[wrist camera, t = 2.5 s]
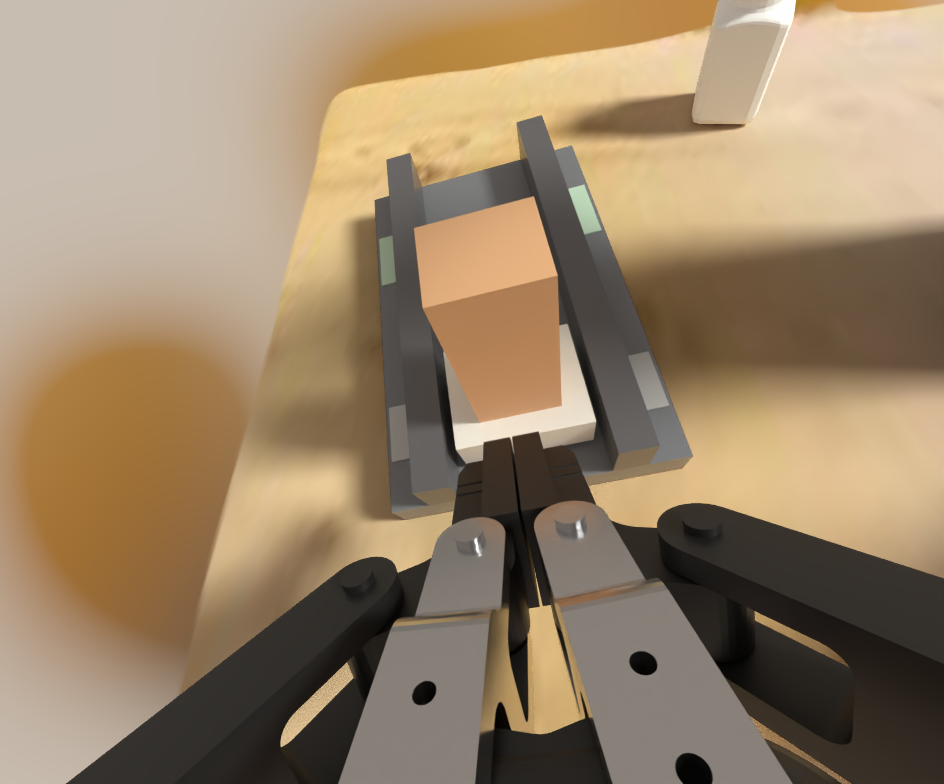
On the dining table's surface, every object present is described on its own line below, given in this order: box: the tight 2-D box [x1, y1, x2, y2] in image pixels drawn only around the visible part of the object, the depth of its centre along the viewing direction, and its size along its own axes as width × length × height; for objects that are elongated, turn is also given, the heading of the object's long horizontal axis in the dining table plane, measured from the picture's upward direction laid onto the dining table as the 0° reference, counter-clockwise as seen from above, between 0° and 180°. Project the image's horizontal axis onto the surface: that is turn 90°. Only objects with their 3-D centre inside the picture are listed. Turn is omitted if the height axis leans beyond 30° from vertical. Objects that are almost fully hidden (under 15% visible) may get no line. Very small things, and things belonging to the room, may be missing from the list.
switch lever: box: [414, 196, 596, 464], centre depth 17 cm, size 5×6×11 cm
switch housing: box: [375, 115, 693, 520], centre depth 25 cm, size 22×14×5 cm, turn 8°
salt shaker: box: [692, 0, 795, 124], centre depth 26 cm, size 4×4×10 cm
